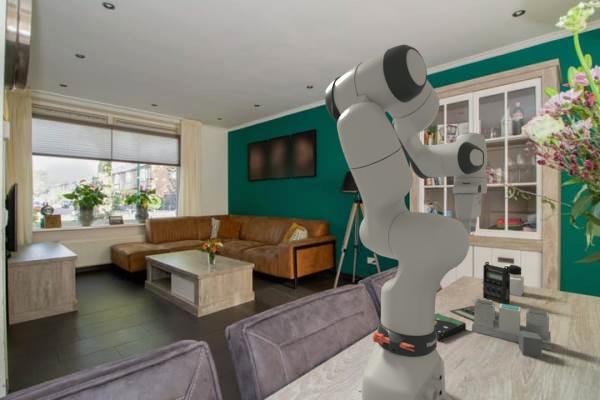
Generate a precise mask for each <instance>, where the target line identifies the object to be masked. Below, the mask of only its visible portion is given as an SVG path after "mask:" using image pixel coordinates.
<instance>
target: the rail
mask: <svg viewBox="0 0 600 400" xmlns="http://www.w3.org/2000/svg"><path fill="white" fill-rule="evenodd" d="M473 306H474V322H473V321H472V325H471V332H473V333H478V334H482V335H486V336H490V337H494V338H498V339H502V340H506V341H509V342H510V341H511V342H514V343H518V344H519V335H516V334H512V333H508V332H503V331H499V319H498V320H495V311H496V309H495V307H496V302H494V301H491V300H486V299H485V300H484V299H478V298H476V299H475V301H474V304H473ZM525 312H526V313H525V319H526V320H525V325H522V324H520V331H526V332H533V333H537V334H538V335H539V336H540V338H541V339H542V350H547V351H552V340H551V337H552V336H551V331H550V316H549V312H548V311H544V310H538V309H532V308H526V311H525Z"/></svg>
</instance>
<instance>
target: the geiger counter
mask: <svg viewBox="0 0 600 400" xmlns="http://www.w3.org/2000/svg"><path fill="white" fill-rule="evenodd" d="M506 267H507V268H506ZM482 271H483V275H482V277H483V279H482V280H483V281H482V284H483V285H482V291H483V292H482V298H483V299H484V298H486V299H485V300H487V301H491V300H492V301H491V302H495V303H498V304H499V305H500V304H506V305H511V304H510V303H511V301H510V299H511V298H510V297H511V294H510V269H508V266H505V265H504V267H501V266H497V265H492V264H490V262H489V261H485V262H484V265H483V270H482Z"/></svg>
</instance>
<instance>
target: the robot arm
mask: <svg viewBox="0 0 600 400" xmlns="http://www.w3.org/2000/svg"><path fill="white" fill-rule="evenodd" d="M324 98H325V101H324V102H325V107H326V110H327V112H328V114H329V115H330V117H331V118H332V119H333V121H334V122H336V128H337V133H338V139H339V142H340V146H341V150H342V152H343V155H344V158H345V161H346V163H347V166H348V168H349V171H350V172H351V176H352V177H353V179H354V183H355V185H356V187H357V189H358V191H359V192H358V193H359V195H360V197H361V200H362V203H363V205H362V206H363V211H364V217H363V219H362V220H361V222H360V225H359V231H358V233H359V234H358V235H359V238H360V241H361V243H362V245H363V246H364V248H366V249H368V250H370V251H371V252H373V253H375V254H377V255H379V256H381V257H385V258H388V259H392V260H396V261H398V267H397V271H396V274H395V277H392V278H391V279H388V280H387V281H386V282H384V284H383V285H382V287H381V290H380V320H379V321H378V326H377V329H376V330H377V331H374V333H373V336H372V341H373V343H375V344H374V347H373V349H372V351H371V354H370V356H369V360H368V362H367V365H366V367H365V370H364V373H363V376H362V378H361V380H360V382H359V383H358V386H357V388H356V389H355V392H354V393H353V396H352V398H351V399H350V400H454V399H453V398H452V396H451V395H449V394H448V393H447V392H446V372H445V361H444V359H443V358H442V357H441V355H440V354H439V352H438V350H437V345H438V341H437V332H436V328H435V326H434V319H435V314H436V313H435V312H436V300H437V299H436V298H437V292H438V289H439V286H440V284H441V282H442V281H443V279H444V277H445V276H446V275H447V274H448V273H449V272H450V271H451V270H453V269H455V268H457V267H458V266H459V265H461V264H462V263H463V261H464V260H465V259H466V257H467V255H468V253H469V250H470V237H469V235H470V234H471V233H474V232H476V230H477V222H478V218H480V217H481V215H482V199H483V194H487V193H488V176H487V172H486V169H487V166H488V150H487V148H488V147H487V143H486V139H485V136H484V135H483V134H480V133H477V132H469V133H468V132H466V133H465V132H464V133H462V134H459V135H457V137H456V140H455V141H454V142H450V143H443V144H438V145H428V144H427V145H425V144H423V142H422V140H421V139H420V136H419V135H418V134H420V133H422V132H424V131H425V130H426V129H427V128H428V127H430V126H431V125H432V123H434V121H435V120H436V118H437V116H438V114H439V109H440V99H439V95H438V94H437V91H436V90H435V89H434V87H433V86H432V83H430V81H429V80H428V73H427V68H426V64H425V61H424V59H423V57H422V55H421V53H420V52H419V50H418V49H416V48H415V47H413V46H410V45H408V44H400V45H396V46H393V47H391V48H388V49H387V50H385V52H383V53H380V54H377V55H376V56H374V57H371V58H369V59H368V60H365V61H363V62H359V63H358V64H356V65H354V66H353V67H352V68H351V69H348V71H346V72H345V73H344V74H342V75H341V76H340V75H339V76H338V77H336V78H335V79H334V80H333V81H332V82H331V83H330V84H329V85H328V86H327V87H326V89H325V97H324ZM386 112H387V113H388V114H389V115H390V116H391V118H392V122H391V121H390V119H389V118H388V116H387V115H386ZM407 159H408V160H407ZM408 162H409V163H410V165H411V167H410V165H409V163H408ZM411 169H412V171H413V172H412V171H411ZM413 173H414V174H415V175H416V176H417V177H418V178H420V179H422V180H426V179H427V180H428V179H434V178H441V177H442V178H447V177H453V186H452V193H453V194H454V204H455V205H454V206H455V216H456V218H454V217H450V216H447V215H443V214H439V213H436V212H422V211H421V212H420V211H418V212H417V211H410V210H409V209H408V208H407V206H406V202H405V197H406V195H407V194H409V192H410V191H411V190H412V187H413V184H414V175H413ZM460 220H461V221H460Z"/></svg>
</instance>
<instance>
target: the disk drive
mask: <svg viewBox="0 0 600 400" xmlns="http://www.w3.org/2000/svg"><path fill="white" fill-rule="evenodd" d="M434 326H435V328H436V332H437V343H439V342H442V341H444V340H446V339H448V338H450V337H452V336H455V335H457V334H459V333H462V332H463V331H466V330H467V329H466V327H467V324H466V322H464V321H461V320H458V319H455V318H453V317H449V316H446V315H443V314H440V313H438V312H437V313H435V319H434Z"/></svg>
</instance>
